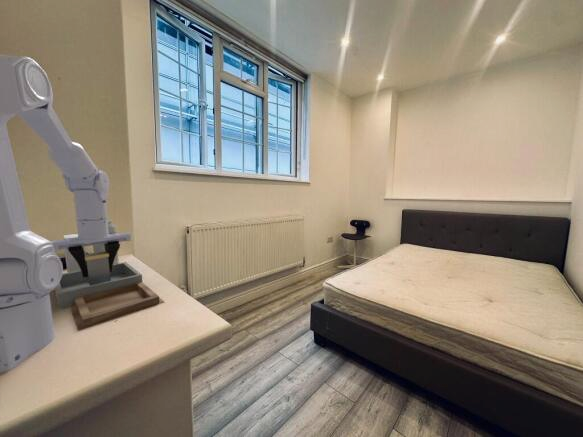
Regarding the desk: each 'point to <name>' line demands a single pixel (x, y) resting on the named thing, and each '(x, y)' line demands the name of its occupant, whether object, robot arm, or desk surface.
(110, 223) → the energy drink can
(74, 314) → the socket block
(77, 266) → the skincare box
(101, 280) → the grey tall block
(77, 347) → the desk surface
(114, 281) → the bin
